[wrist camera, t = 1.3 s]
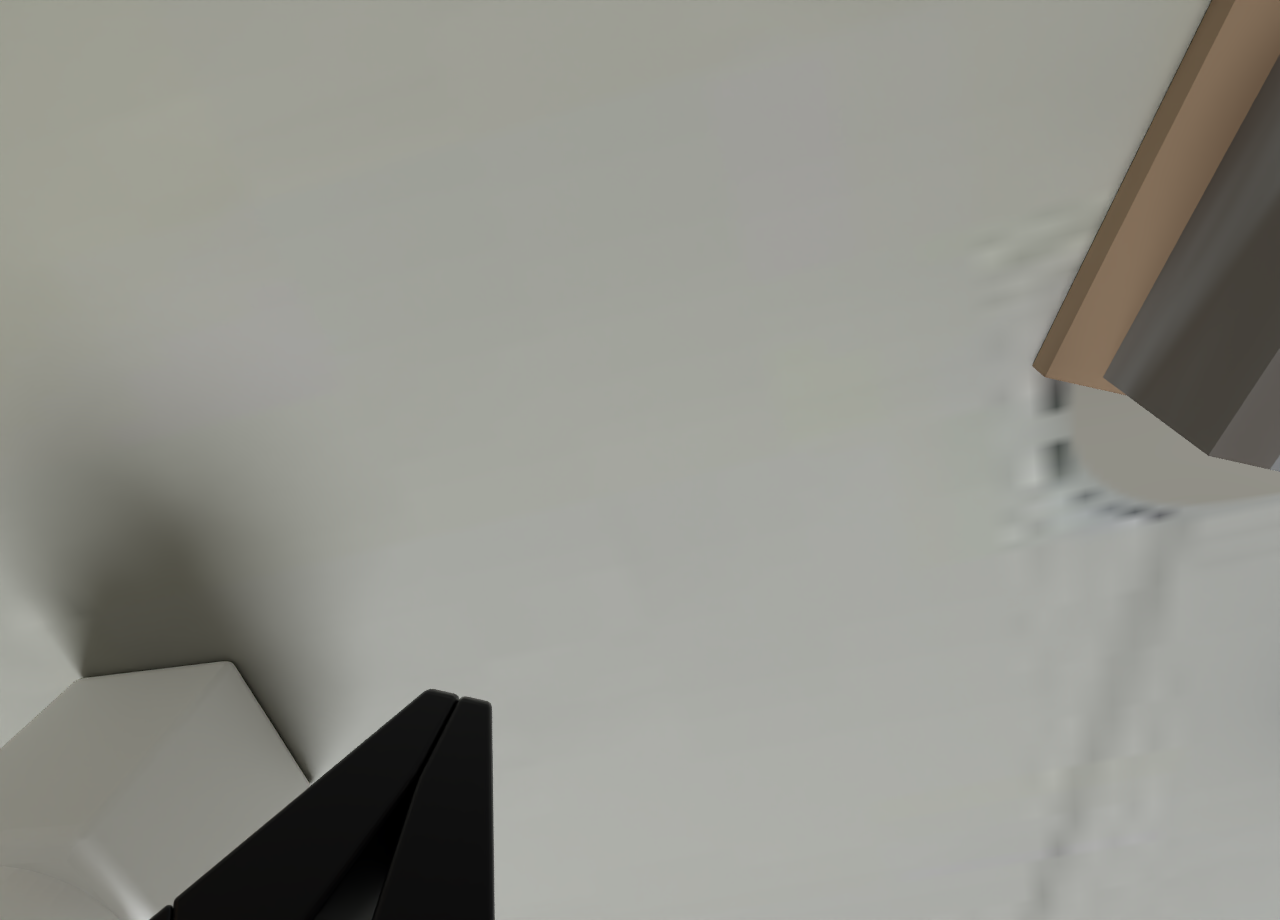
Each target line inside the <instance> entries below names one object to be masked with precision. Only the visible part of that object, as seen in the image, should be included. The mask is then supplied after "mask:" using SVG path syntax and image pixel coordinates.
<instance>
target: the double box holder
mask: <svg viewBox="0 0 1280 920" xmlns="http://www.w3.org/2000/svg"><path fill="white" fill-rule="evenodd" d="M1033 367H1034V368H1035V369H1036V370H1037V371H1039V372H1040V373H1041V374H1042V375H1043V376H1044V377H1047V378H1051V379H1056V380H1060V381H1065V382H1069V383H1074V384H1078V385H1083V386H1087V387H1092V388H1096V389H1101V390H1105V391H1110V392H1114V393H1119V394H1123V395H1127V396H1129V397H1130V398H1131V399H1133V400H1134V401H1135V402H1137V403H1138V404H1139V405H1141V406H1142V407H1143V408H1145V409H1146V410H1147V411H1149V412H1150V413H1152V414H1153V415H1154V416H1156V417H1157V418H1159V419H1160V420H1161V421H1162V422H1164V423H1165V424H1166V425H1168V426H1169V427H1170V428H1172V429H1173V430H1175V431H1176V432H1177V433H1178V434H1180V435H1181V436H1183V437H1184V438H1185V439H1187V440H1188V441H1189V442H1191V443H1192V444H1193V445H1195V446H1196V447H1197V448H1199V449H1200V450H1201V451H1203V452H1204V453H1206V454H1207V455H1208V456H1212V457H1217V458H1221V459H1226V460H1231V461H1235V462H1240V463H1244V464H1248V465H1253V466H1257V467H1262V468H1266V469H1270V470H1275V471H1279V472H1280V0H1212V1H1211V3H1210V6H1209V8H1208V10H1207V12H1206V14H1205V16H1204V18H1203V20H1202V22H1201V24H1200V26H1199V28H1198V30H1197V32H1196V34H1195V36H1194V38H1193V40H1192V42H1191V44H1190V46H1189V48H1188V50H1187V52H1186V54H1185V56H1184V58H1183V60H1182V62H1181V64H1180V67H1179V69H1178V71H1177V73H1176V75H1175V77H1174V79H1173V81H1172V83H1171V85H1170V87H1169V89H1168V91H1167V93H1166V95H1165V97H1164V99H1163V101H1162V103H1161V105H1160V107H1159V109H1158V111H1157V113H1156V115H1155V117H1154V119H1153V121H1152V123H1151V126H1150V128H1149V130H1148V132H1147V134H1146V136H1145V138H1144V140H1143V142H1142V144H1141V146H1140V148H1139V150H1138V152H1137V154H1136V156H1135V158H1134V160H1133V162H1132V164H1131V166H1130V168H1129V170H1128V172H1127V174H1126V176H1125V178H1124V180H1123V182H1122V184H1121V187H1120V189H1119V191H1118V193H1117V195H1116V197H1115V199H1114V201H1113V203H1112V205H1111V207H1110V209H1109V211H1108V213H1107V215H1106V217H1105V219H1104V221H1103V223H1102V225H1101V227H1100V229H1099V231H1098V233H1097V235H1096V237H1095V239H1094V241H1093V243H1092V246H1091V248H1090V250H1089V252H1088V254H1087V256H1086V258H1085V260H1084V262H1083V264H1082V266H1081V268H1080V270H1079V272H1078V274H1077V276H1076V278H1075V280H1074V282H1073V284H1072V286H1071V288H1070V290H1069V292H1068V294H1067V296H1066V298H1065V300H1064V302H1063V305H1062V307H1061V309H1060V311H1059V313H1058V315H1057V317H1056V319H1055V321H1054V323H1053V325H1052V327H1051V329H1050V331H1049V333H1048V335H1047V337H1046V339H1045V341H1044V343H1043V345H1042V347H1041V349H1040V351H1039V353H1038V355H1037V357H1036V359H1035V361H1034V363H1033Z"/></svg>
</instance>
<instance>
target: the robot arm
mask: <svg viewBox="0 0 1280 920" xmlns="http://www.w3.org/2000/svg"><path fill="white" fill-rule="evenodd" d="M149 920H495V910H494V832H493V754H492V706H491V704H490V703H489V702H488V701H484V700H480V699H475V698H471V697H461V698H460V699H459V697H458V696H457V695H456V694H453V693H449V692H444V691H440V690H436V689H429V690H426V691H424V692H423V693H422V694H421V695H419V696H418V697H417V698H416V699H415V700H413V701H412V702H411V703H410V704H409V705H407V706H406V707H405V708H404V709H403V710H401V711H400V712H399V713H398V714H397V715H395V716H394V717H393V718H392V719H391V720H389V721H388V722H387V723H386V724H385V725H383V726H382V727H381V728H380V729H379V730H377V731H376V732H375V733H374V734H372V735H371V736H370V737H369V738H368V739H366V740H365V741H364V742H363V743H362V744H360V745H359V746H358V747H357V748H356V749H354V750H353V751H352V752H351V753H350V754H348V755H347V756H346V757H345V758H344V759H342V760H341V761H340V762H339V763H338V764H336V765H335V766H334V767H333V768H332V769H330V770H329V771H328V772H327V773H326V774H324V775H323V776H322V777H321V778H320V779H318V780H317V781H316V782H315V783H313V784H312V785H311V786H310V787H309V788H307V789H306V790H305V791H304V792H303V793H301V794H300V795H299V796H298V797H297V798H295V799H294V800H293V801H292V802H291V803H289V804H288V805H287V806H286V807H285V808H283V809H282V810H281V811H280V812H279V813H277V814H276V815H275V816H274V817H273V818H271V819H270V820H269V821H268V822H267V823H265V824H264V825H263V826H262V827H260V828H259V829H258V830H257V831H256V832H254V833H253V834H252V835H251V836H250V837H248V838H247V839H246V840H245V841H244V842H242V843H241V844H240V845H239V846H238V847H236V848H235V849H234V850H233V851H232V852H230V853H229V854H228V855H227V856H226V857H224V858H223V859H222V860H221V861H220V862H218V863H217V864H216V865H215V866H214V867H212V868H211V869H210V870H209V871H208V872H206V873H205V874H204V875H203V876H201V877H200V878H199V879H198V880H197V881H195V882H194V883H193V884H192V885H191V886H189V887H188V888H187V889H186V890H185V891H183V892H182V893H181V894H180V895H179V896H177V897H176V898H175V900H174V902H173V906H172V905H166V906H165V907H164V908H162V909H161V910H160V911H159V912H158V913H156V914H155V915H154V916H153V917H152V918H150V919H149Z"/></svg>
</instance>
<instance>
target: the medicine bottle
mask: <svg viewBox="0 0 1280 920" xmlns="http://www.w3.org/2000/svg"><path fill="white" fill-rule="evenodd" d="M309 787H310V784H309V782H308V780H307V779H306V777H305V775H304V774H303V772H302V771H301V769H300V767H299V766H298V764H297V763H296V761H295V760H294V758H293V756H292V755H291V753H290V752H289V750H288V749H287V747H286V745H285V744H284V742H283V741H282V739H281V738H280V736H279V734H278V733H277V731H276V730H275V728H274V727H273V725H272V723H271V722H270V720H269V719H268V717H267V716H266V714H265V712H264V711H263V709H262V708H261V706H260V705H259V703H258V701H257V700H256V698H255V697H254V695H253V693H252V692H251V690H250V689H249V687H248V686H247V684H246V682H245V681H244V679H243V678H242V676H241V675H240V673H239V671H238V670H237V668H236V667H235V665H234V664H233V663H232V662H229V661H221V662H213V663H205V664H196V665H188V666H180V667H171V668H163V669H155V670H147V671H138V672H130V673H122V674H113V675H105V676H97V677H89V678H81V679H79V680H77V681H75V682H74V683H72V684H71V685H70V686H69V687H68V688H67V689H66V690H65V691H64V692H63V693H61V694H60V695H59V696H58V697H57V698H56V699H55V700H54V701H53V702H52V703H50V704H49V705H48V706H47V707H46V708H45V709H44V710H43V711H42V712H41V713H39V714H38V715H37V716H36V717H35V718H34V719H33V720H32V721H31V722H29V723H28V724H27V725H26V726H25V727H24V728H23V729H22V730H21V731H20V732H18V733H17V734H16V735H15V736H14V737H13V738H12V739H11V740H10V741H9V742H7V743H6V744H5V745H4V746H3V747H2V748H1V749H0V920H149V919H150V918H152V917H153V916H154V915H155V914H156V913H158V912H159V911H160V910H161V909H162V908H164V907H165V906H166V905H172V906H173V902H174V900H175V898H176V897H177V896H179V895H180V894H181V893H182V892H183V891H185V890H186V889H187V888H188V887H189V886H191V885H192V884H193V883H194V882H195V881H197V880H198V879H199V878H200V877H201V876H203V875H204V874H205V873H206V872H208V871H209V870H210V869H211V868H212V867H214V866H215V865H216V864H217V863H218V862H220V861H221V860H222V859H223V858H224V857H226V856H227V855H228V854H229V853H230V852H232V851H233V850H234V849H235V848H236V847H238V846H239V845H240V844H241V843H242V842H244V841H245V840H246V839H247V838H248V837H250V836H251V835H252V834H253V833H254V832H256V831H257V830H258V829H259V828H260V827H262V826H263V825H264V824H265V823H267V822H268V821H269V820H270V819H271V818H273V817H274V816H275V815H276V814H277V813H279V812H280V811H281V810H282V809H283V808H285V807H286V806H287V805H288V804H289V803H291V802H292V801H293V800H294V799H295V798H297V797H298V796H299V795H300V794H301V793H303V792H304V791H305V790H306V789H307V788H309Z"/></svg>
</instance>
